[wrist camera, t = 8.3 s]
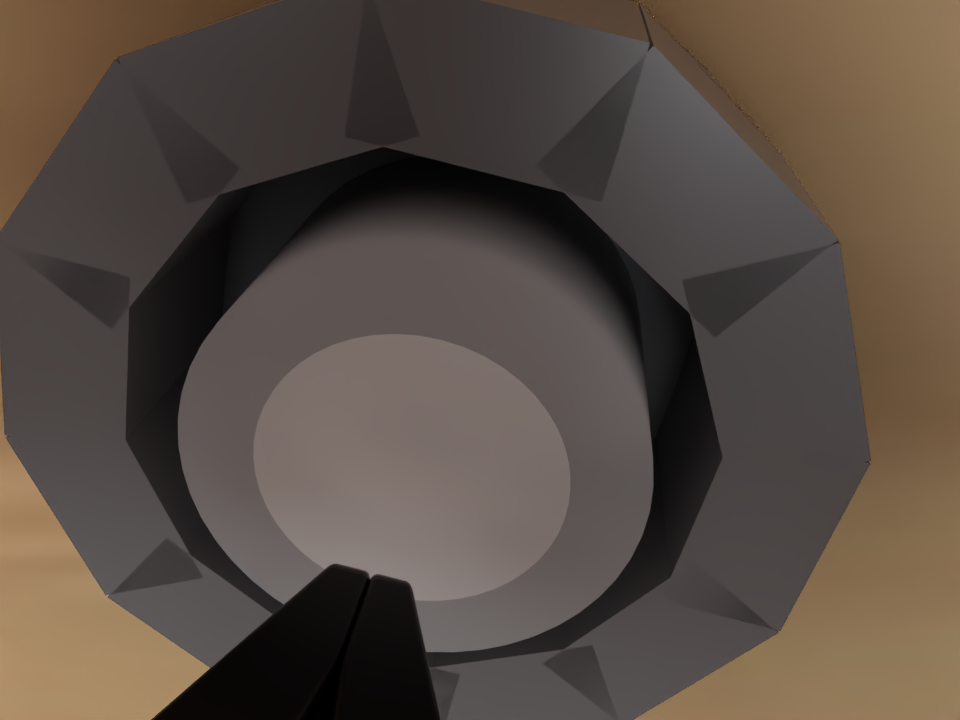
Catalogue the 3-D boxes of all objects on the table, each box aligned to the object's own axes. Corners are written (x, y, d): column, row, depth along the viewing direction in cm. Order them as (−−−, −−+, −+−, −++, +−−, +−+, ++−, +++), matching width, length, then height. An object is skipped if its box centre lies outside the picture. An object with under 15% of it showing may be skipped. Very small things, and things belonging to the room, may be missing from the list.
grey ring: (906, 62, 13) (1043, 142, 9) (666, 607, 18) (684, 808, 14) (166, -125, 13) (-25, -128, 9) (142, 475, 18) (15, 639, 14)
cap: (692, 210, 13) (725, 330, 10) (582, 519, 16) (577, 698, 13) (300, 110, 13) (190, 194, 10) (260, 436, 16) (165, 594, 13)
